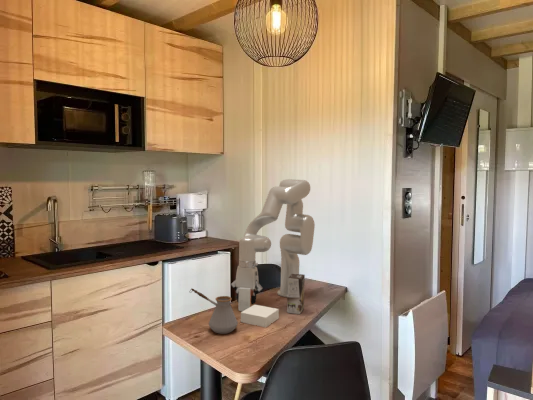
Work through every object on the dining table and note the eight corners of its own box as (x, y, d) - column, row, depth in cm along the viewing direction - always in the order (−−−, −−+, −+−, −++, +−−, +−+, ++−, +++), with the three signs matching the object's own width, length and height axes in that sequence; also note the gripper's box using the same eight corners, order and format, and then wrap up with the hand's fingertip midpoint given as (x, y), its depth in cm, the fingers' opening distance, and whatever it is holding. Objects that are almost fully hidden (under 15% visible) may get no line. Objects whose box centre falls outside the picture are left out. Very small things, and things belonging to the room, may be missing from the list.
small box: (250, 312, 180) (250, 289, 180) (238, 311, 181) (238, 288, 181) (254, 306, 188) (254, 284, 188) (242, 305, 189) (243, 283, 189)
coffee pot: (242, 327, 162) (243, 291, 161) (229, 337, 152) (229, 299, 151) (197, 319, 170) (197, 284, 169) (181, 328, 160) (182, 291, 159)
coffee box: (300, 314, 179) (301, 279, 178) (286, 312, 180) (287, 277, 179) (304, 308, 188) (305, 274, 186) (290, 306, 189) (291, 273, 188)
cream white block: (254, 314, 179) (254, 304, 178) (278, 319, 173) (278, 309, 173) (240, 322, 168) (240, 312, 168) (265, 328, 163) (266, 317, 162)
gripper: (267, 264, 183) (266, 302, 184) (234, 260, 191) (234, 297, 192) (260, 268, 176) (259, 307, 178) (226, 263, 184) (226, 301, 185)
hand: (246, 301), depth 185 cm, fingers closed on small box, 6 cm apart
